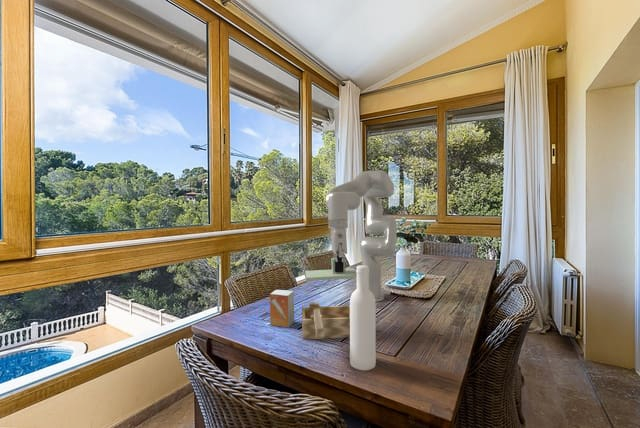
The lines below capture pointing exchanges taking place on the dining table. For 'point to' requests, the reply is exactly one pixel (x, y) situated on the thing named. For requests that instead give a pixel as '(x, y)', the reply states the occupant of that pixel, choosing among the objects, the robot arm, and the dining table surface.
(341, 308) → the toolbox
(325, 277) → the lid
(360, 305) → the bottle
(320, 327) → the key
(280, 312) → the small box
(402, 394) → the dining table surface
